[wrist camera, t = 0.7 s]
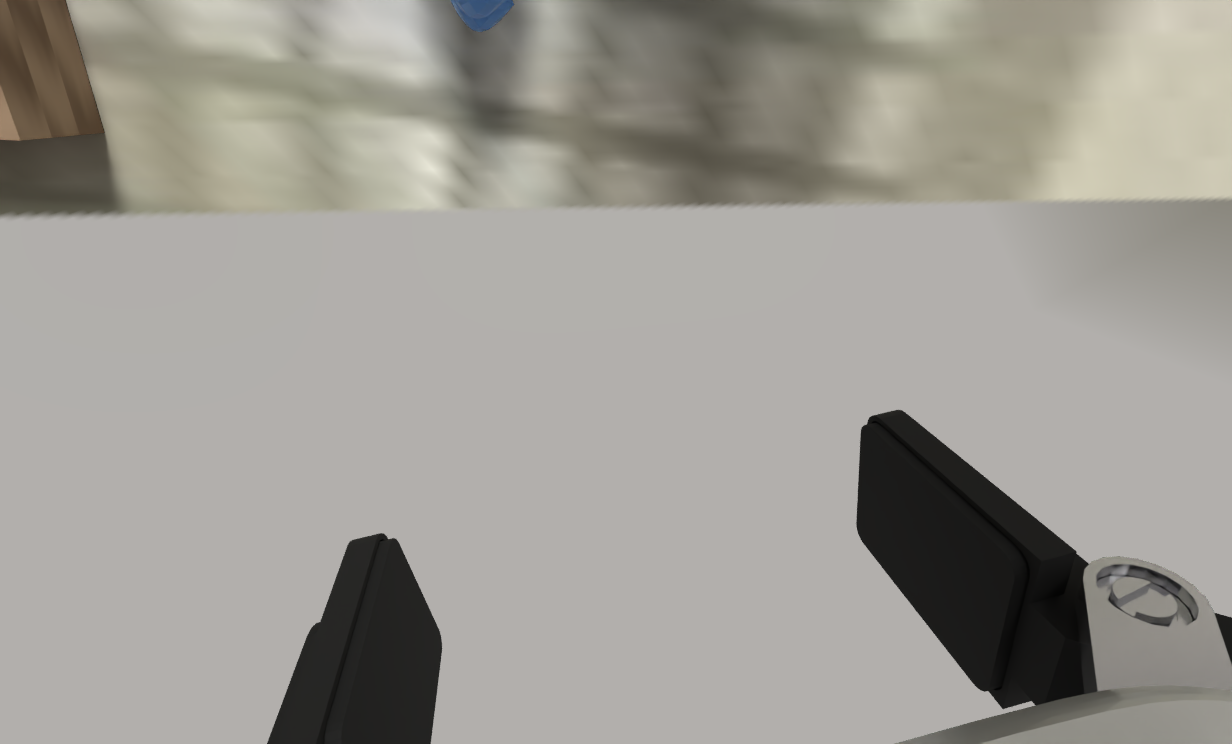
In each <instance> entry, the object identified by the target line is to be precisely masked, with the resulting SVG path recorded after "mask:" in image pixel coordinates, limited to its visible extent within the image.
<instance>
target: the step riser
mask: <svg viewBox="0 0 1232 744" xmlns="http://www.w3.org/2000/svg"><path fill="white" fill-rule="evenodd" d="M97 133H104V130H103V126H102V123H101V120H100V116H99V113H98V110H97V106H96V103H95V99H94V96H93V93H92V89H91V86H90V83H89V79H88V76H87V72H86V69H85V66H84V62H83V59H82V56H81V52H80V49H79V45H78V42H77V39H76V35H75V32H74V29H73V25H72V22H71V19H70V15H69V12H68V8H67V5H66V2H65V0H0V140H18V141H22V140H32V139H43V138H54V137H65V136H75V135H86V134H97Z"/></svg>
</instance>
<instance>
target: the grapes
mask: <svg viewBox="0 0 1232 744" xmlns="http://www.w3.org/2000/svg"><path fill="white" fill-rule="evenodd" d="M451 2H452V4H453V6H454V8H455V10H456V12H457V13H458V15H459V16H460V18H461V19H462V20H463V21H464V23H465V24H466V25H467V26H468V27H470V28H471V29H472V30H474V31H478V32H483V31H486V30H489V29H490V28H492V27H493V26H494V25H496V24H497V23H498V22H499V21H500V20H501V19H502V18H503V17H504V16H505V14H506V13H507V12H508V11H509V10H510V9H511V7H512V6H513V5H514V3H513V1H512V0H451Z"/></svg>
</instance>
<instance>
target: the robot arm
mask: <svg viewBox="0 0 1232 744" xmlns="http://www.w3.org/2000/svg"><path fill="white" fill-rule="evenodd" d="M858 485H859V486H858V503H857V530H858V534H859V536H860V538H861V540H862V542H863V543H864V545H865V546H866V547H867V548H868V550H869V551H870V552H871V554H872V555H873V556H874V557H875V559H876V560H877V561H878V562H879V564H880V565H881V566H882V568H883V569H884V570H885V571H886V573H887V574H888V575H889V576H890V578H891V579H892V580H893V582H894V583H895V584H896V585H897V587H898V588H899V589H900V591H901V592H902V593H903V594H904V596H905V597H906V598H907V599H908V601H909V602H910V603H911V605H912V606H913V607H914V608H915V610H916V611H917V612H918V613H919V615H920V616H921V617H922V619H923V620H924V621H925V622H926V624H927V625H928V626H929V627H930V629H931V630H932V631H933V633H934V634H935V635H936V636H937V638H938V639H939V640H940V642H941V643H942V644H943V645H944V647H945V648H946V649H947V651H948V652H949V653H950V654H951V656H952V657H953V658H954V659H955V661H956V662H957V663H958V665H959V666H960V667H961V668H962V670H963V671H964V672H965V673H966V675H967V676H968V677H969V678H970V680H971V681H972V682H973V684H975V686H976V687H977V688H979V689H980V690H982V691H989V692H990V693H991V695H992V696H993V697H994V699H995V700H996V701H997V702H998V704H999V705H1000V706H1001V707H1002V709H1005V708H1008V707H1012V706H1015V705H1018V704H1022V703H1026V702H1029V701H1032V702H1033V703H1034V704H1035V705H1036V706H1032V707H1029V708H1025V709H1021V710H1017V711H1013V712H1009V713H1006V714H1002V715H997V716H994V717H990V718H986V719H982V720H978V721H975V722H971V723H967V724H964V725H960V726H957V727H953V728H949V729H946V730H942V731H939V732H935V733H931V734H928V735H924V736H921V737H917V738H914V739H910V740H906V741H903V742H899V743H896V744H1232V618H1231V617H1227V616H1224V615H1220V614H1217V613H1214V611H1213V609H1212V607H1211V605H1210V604H1209V602H1208V600H1207V598H1206V597H1205V596H1204V595H1203V594H1202V593H1201V592H1200V591H1199V590H1198V589H1197V588H1196V587H1195V586H1194V585H1193V584H1191V583H1190V582H1188V581H1186V580H1185V579H1184V578H1182V577H1180V576H1179V575H1178V574H1176V573H1174V572H1172V571H1169V570H1167V569H1165V568H1163V567H1161V566H1159V565H1156V564H1153V563H1149V562H1146V561H1143V560H1139V559H1134V558H1127V557H1120V556H1118V557H1103V558H1100V559H1098V560H1095V561H1092V562H1091V563H1090V564H1088V563H1087V562H1086V561H1085V560H1083V559H1082V558H1081V557H1080V556H1079V555H1077V554H1076V551H1075V550H1074V549H1073V548H1071V547H1070V546H1069V545H1068V544H1066V543H1065V542H1064V541H1063V540H1061V539H1060V538H1059V537H1058V536H1057V535H1055V534H1054V533H1053V532H1052V531H1051V530H1049V529H1048V528H1047V527H1046V526H1044V525H1043V524H1042V523H1041V522H1039V521H1038V520H1037V519H1036V518H1034V517H1033V516H1032V515H1031V514H1030V513H1028V512H1027V511H1026V510H1025V509H1023V508H1022V507H1021V506H1020V505H1018V504H1017V503H1016V502H1015V501H1014V500H1012V499H1011V498H1010V497H1009V496H1007V495H1006V494H1005V493H1004V492H1002V491H1001V490H1000V489H999V488H998V487H996V486H995V485H994V484H993V483H991V482H990V481H989V480H988V479H986V478H985V477H984V476H983V475H981V474H980V473H979V472H978V471H977V470H975V469H974V468H973V467H972V466H970V465H969V464H968V463H967V462H965V461H964V460H963V459H961V457H959V456H958V455H957V454H956V453H954V452H953V451H952V450H950V449H949V448H948V447H947V446H946V445H944V444H943V443H942V442H941V441H940V440H938V439H937V438H936V437H935V436H933V435H932V434H931V433H930V432H928V431H927V430H926V429H925V428H924V427H922V426H921V425H920V424H918V423H917V422H916V421H915V420H914V419H912V418H911V417H910V416H909V415H907V414H906V413H905V412H903V411H902V410H895V411H891V412H887V413H882V414H878V415H874V416H871V417H870V418H869V420H868V423H867V425H864V426H863V427H862V429H861V441H860V463H859V482H858ZM441 653H442V642H441V635H440V631H439V629H438V627H437V624H436V622H435V620H434V618H433V616H432V614H431V611H430V609H429V607H428V605H427V603H426V601H425V598H424V597H423V594H422V592H421V590H420V588H419V586H418V583H417V581H416V579H415V577H414V575H413V572H412V570H411V568H410V566H409V564H408V562H407V559H406V557H405V555H404V553H403V551H402V549H401V547H400V544H399V542H398V541H397V540H396V539H394V538H392V539H388V538H387V536H386V535H385V534H382V533H381V534H376V535H372V536H368V537H363V538H360V539H355V540H352V541H351V542H350V543H349V544H348V546H347V549H346V552H345V555H344V557H343V560H342V563H341V566H340V568H339V571H338V574H337V577H336V580H335V583H334V585H333V588H332V591H331V594H330V596H329V600H328V602H327V605H326V608H325V611H324V613H323V616H322V619H321V622H319V623H316V624H315V625H314V626H313V627H312V628H311V630H310V632H309V634H308V636H307V638H306V641H305V643H304V646H303V649H302V651H301V654H300V657H299V659H298V662H297V665H296V667H295V670H294V673H293V676H292V678H291V681H290V684H289V686H288V689H287V692H286V695H285V697H284V700H283V703H282V705H281V708H280V711H279V713H278V716H277V719H276V721H275V724H274V727H273V729H272V732H271V735H270V737H269V741H268V743H267V744H431V736H432V727H433V719H434V711H435V702H436V695H437V686H438V677H439V670H440V662H441Z"/></svg>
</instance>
